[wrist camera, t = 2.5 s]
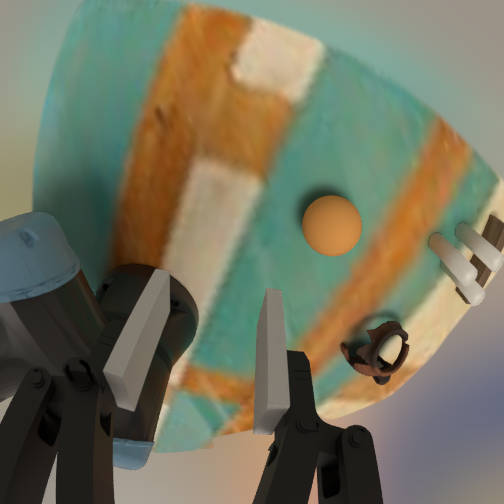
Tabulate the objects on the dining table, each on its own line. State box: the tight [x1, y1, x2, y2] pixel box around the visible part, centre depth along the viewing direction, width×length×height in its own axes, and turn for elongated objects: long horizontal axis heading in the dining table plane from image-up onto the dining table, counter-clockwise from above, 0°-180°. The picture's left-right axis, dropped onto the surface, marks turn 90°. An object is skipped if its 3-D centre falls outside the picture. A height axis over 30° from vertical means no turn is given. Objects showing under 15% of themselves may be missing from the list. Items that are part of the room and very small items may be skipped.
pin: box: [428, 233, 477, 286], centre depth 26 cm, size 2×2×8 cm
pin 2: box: [441, 261, 485, 306], centre depth 28 cm, size 2×2×8 cm
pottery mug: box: [340, 321, 409, 385], centre depth 37 cm, size 12×9×8 cm
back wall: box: [456, 215, 504, 304], centre depth 29 cm, size 2×13×4 cm, turn 170°
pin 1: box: [455, 222, 504, 272], centre depth 25 cm, size 2×2×8 cm
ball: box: [302, 195, 362, 256], centre depth 27 cm, size 6×6×6 cm
